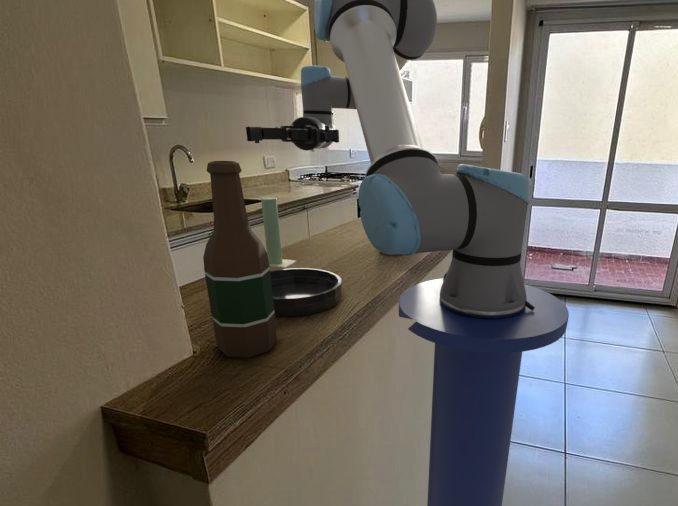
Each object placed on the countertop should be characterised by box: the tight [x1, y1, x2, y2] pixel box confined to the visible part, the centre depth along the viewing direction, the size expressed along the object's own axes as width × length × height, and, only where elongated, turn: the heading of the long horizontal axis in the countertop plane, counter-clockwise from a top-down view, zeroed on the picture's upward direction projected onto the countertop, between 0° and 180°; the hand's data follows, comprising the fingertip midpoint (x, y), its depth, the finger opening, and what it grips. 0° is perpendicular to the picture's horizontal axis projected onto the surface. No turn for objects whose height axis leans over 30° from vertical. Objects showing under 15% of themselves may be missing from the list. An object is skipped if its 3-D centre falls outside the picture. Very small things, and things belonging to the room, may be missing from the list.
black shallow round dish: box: [270, 267, 343, 318], centre depth 77 cm, size 16×16×3 cm
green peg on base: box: [260, 196, 299, 271], centre depth 88 cm, size 7×5×15 cm
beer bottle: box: [203, 160, 278, 359], centre depth 57 cm, size 8×8×24 cm
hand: (281, 135), depth 90 cm, fingers open, 13 cm apart
